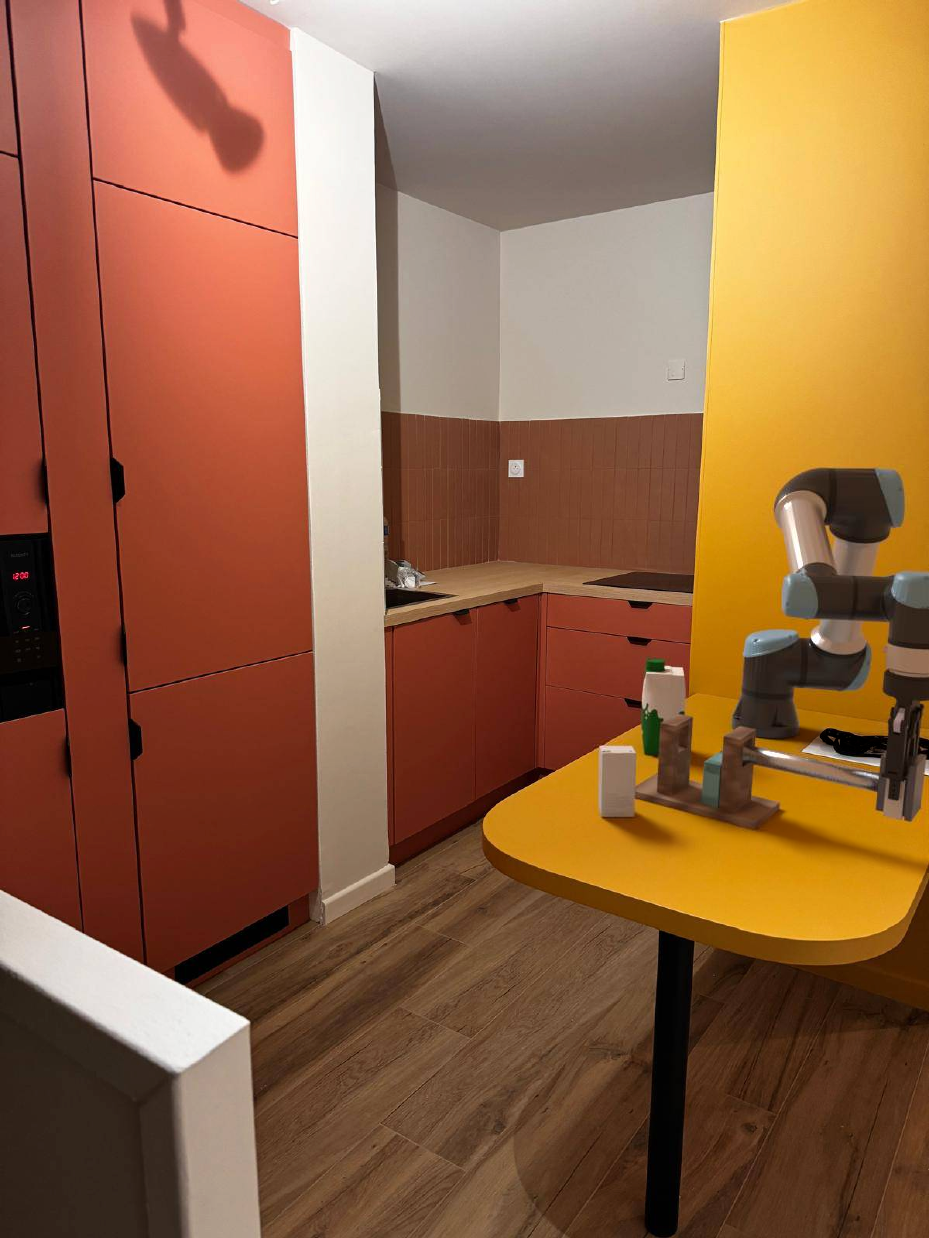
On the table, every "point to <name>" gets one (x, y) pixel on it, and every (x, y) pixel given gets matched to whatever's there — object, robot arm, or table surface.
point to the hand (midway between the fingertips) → (896, 812)
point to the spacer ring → (712, 781)
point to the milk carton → (660, 700)
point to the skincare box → (617, 781)
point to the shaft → (845, 774)
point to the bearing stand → (687, 794)
